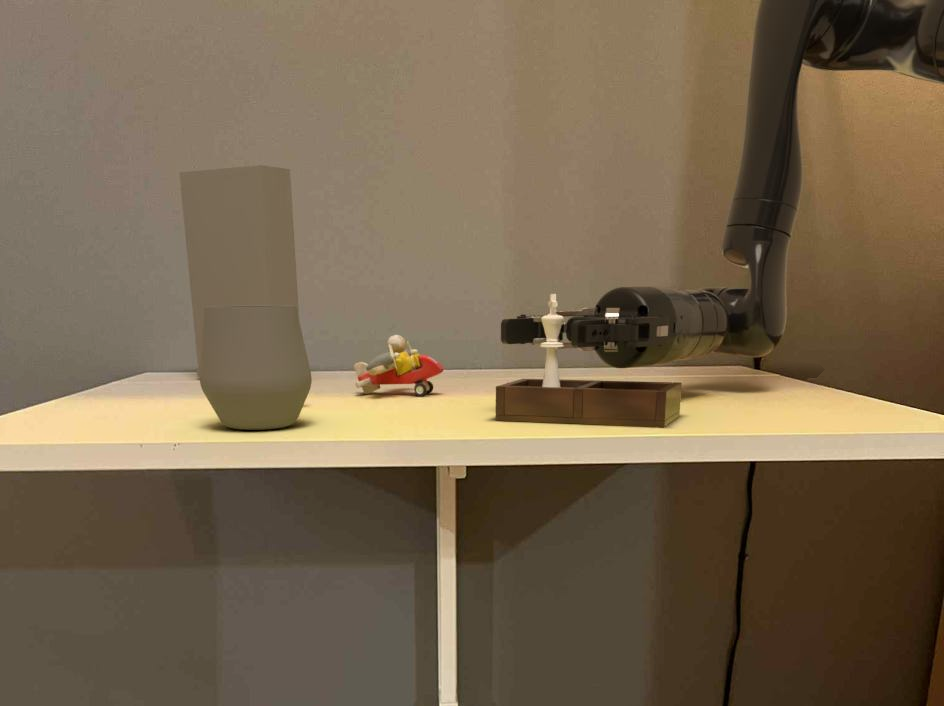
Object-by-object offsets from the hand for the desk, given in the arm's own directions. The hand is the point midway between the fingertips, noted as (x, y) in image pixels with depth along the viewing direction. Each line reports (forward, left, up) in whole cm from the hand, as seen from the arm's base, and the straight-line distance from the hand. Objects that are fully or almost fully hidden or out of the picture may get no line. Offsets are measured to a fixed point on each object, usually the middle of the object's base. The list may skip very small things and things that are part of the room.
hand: (538, 333), depth 87 cm
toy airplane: (+22, -16, -8) cm, 28 cm away
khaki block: (+48, -28, -8) cm, 56 cm away
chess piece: (-1, -2, -7) cm, 7 cm away
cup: (+22, +12, -8) cm, 26 cm away
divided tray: (-4, -2, -8) cm, 9 cm away
